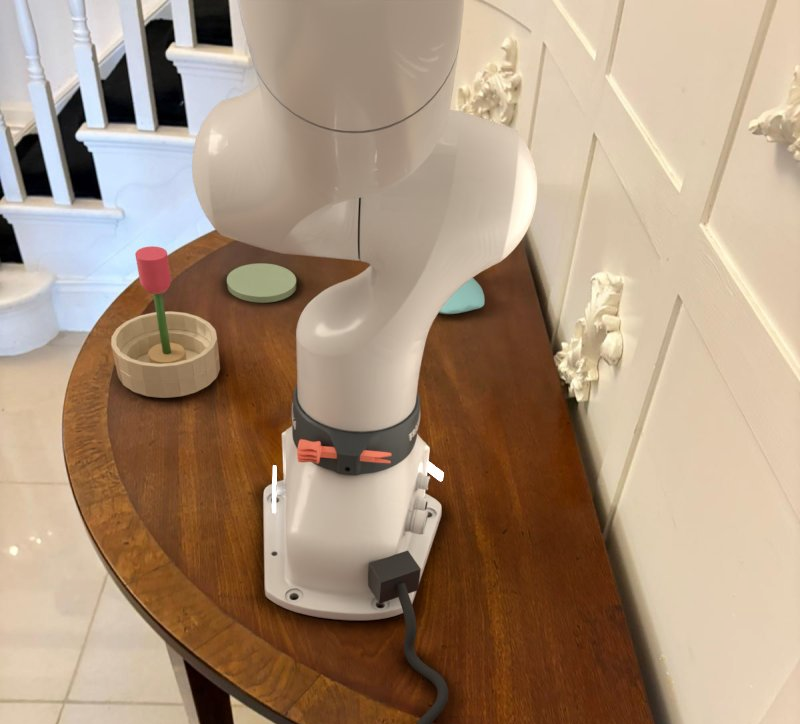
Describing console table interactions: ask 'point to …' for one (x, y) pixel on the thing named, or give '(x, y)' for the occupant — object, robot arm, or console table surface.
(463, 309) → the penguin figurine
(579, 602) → the console table surface
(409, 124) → the robot arm
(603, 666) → the console table surface
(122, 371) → the bowl
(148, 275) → the tulip
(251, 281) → the coaster
